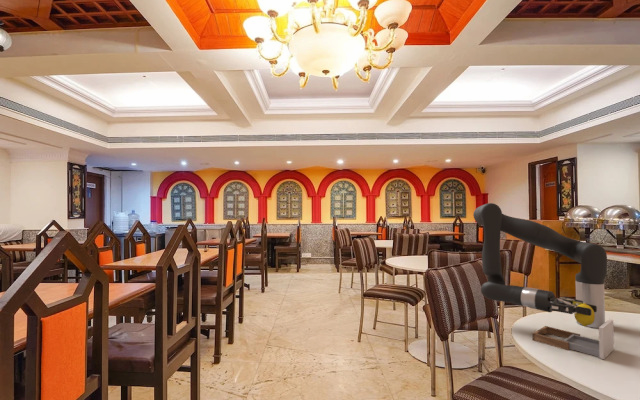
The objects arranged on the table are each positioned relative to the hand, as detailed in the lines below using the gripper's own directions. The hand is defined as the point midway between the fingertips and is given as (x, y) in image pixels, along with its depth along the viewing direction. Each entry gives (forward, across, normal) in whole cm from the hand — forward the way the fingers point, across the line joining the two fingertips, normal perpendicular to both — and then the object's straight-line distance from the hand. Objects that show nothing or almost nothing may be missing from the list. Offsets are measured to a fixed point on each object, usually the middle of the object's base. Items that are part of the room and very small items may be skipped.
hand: (593, 310), depth 114 cm
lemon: (-3, 0, +6) cm, 7 cm away
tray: (-2, 0, +13) cm, 14 cm away
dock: (-10, 0, +14) cm, 17 cm away
